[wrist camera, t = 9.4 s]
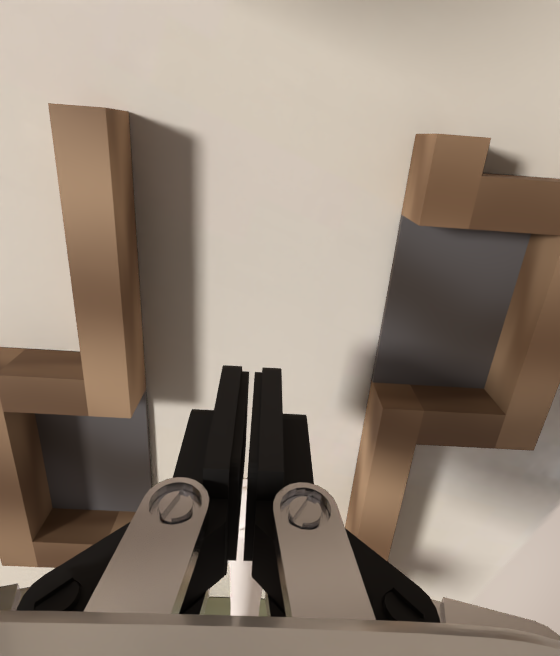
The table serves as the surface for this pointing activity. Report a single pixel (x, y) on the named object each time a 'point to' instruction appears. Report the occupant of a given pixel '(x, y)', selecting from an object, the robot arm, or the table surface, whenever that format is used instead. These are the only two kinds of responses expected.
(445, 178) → the trap lane
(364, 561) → the robot arm
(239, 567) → the chess piece
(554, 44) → the table surface
